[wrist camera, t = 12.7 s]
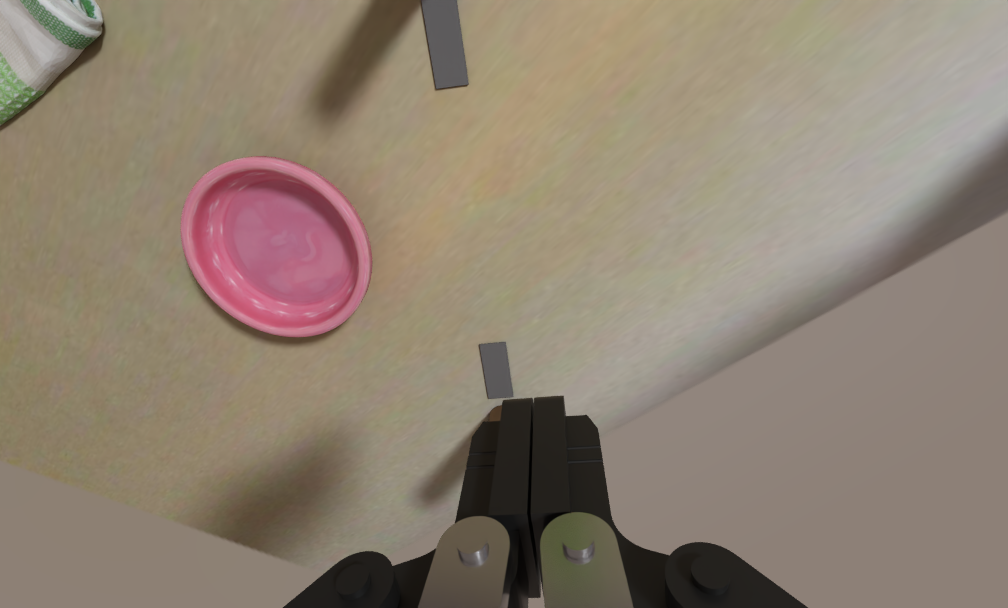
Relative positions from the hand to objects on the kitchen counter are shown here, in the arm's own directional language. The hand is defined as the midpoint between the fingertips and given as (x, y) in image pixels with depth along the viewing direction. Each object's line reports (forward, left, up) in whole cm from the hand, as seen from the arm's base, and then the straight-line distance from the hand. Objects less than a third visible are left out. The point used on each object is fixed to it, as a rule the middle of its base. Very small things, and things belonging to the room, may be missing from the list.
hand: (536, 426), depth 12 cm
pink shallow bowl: (+17, +1, -23) cm, 29 cm away
